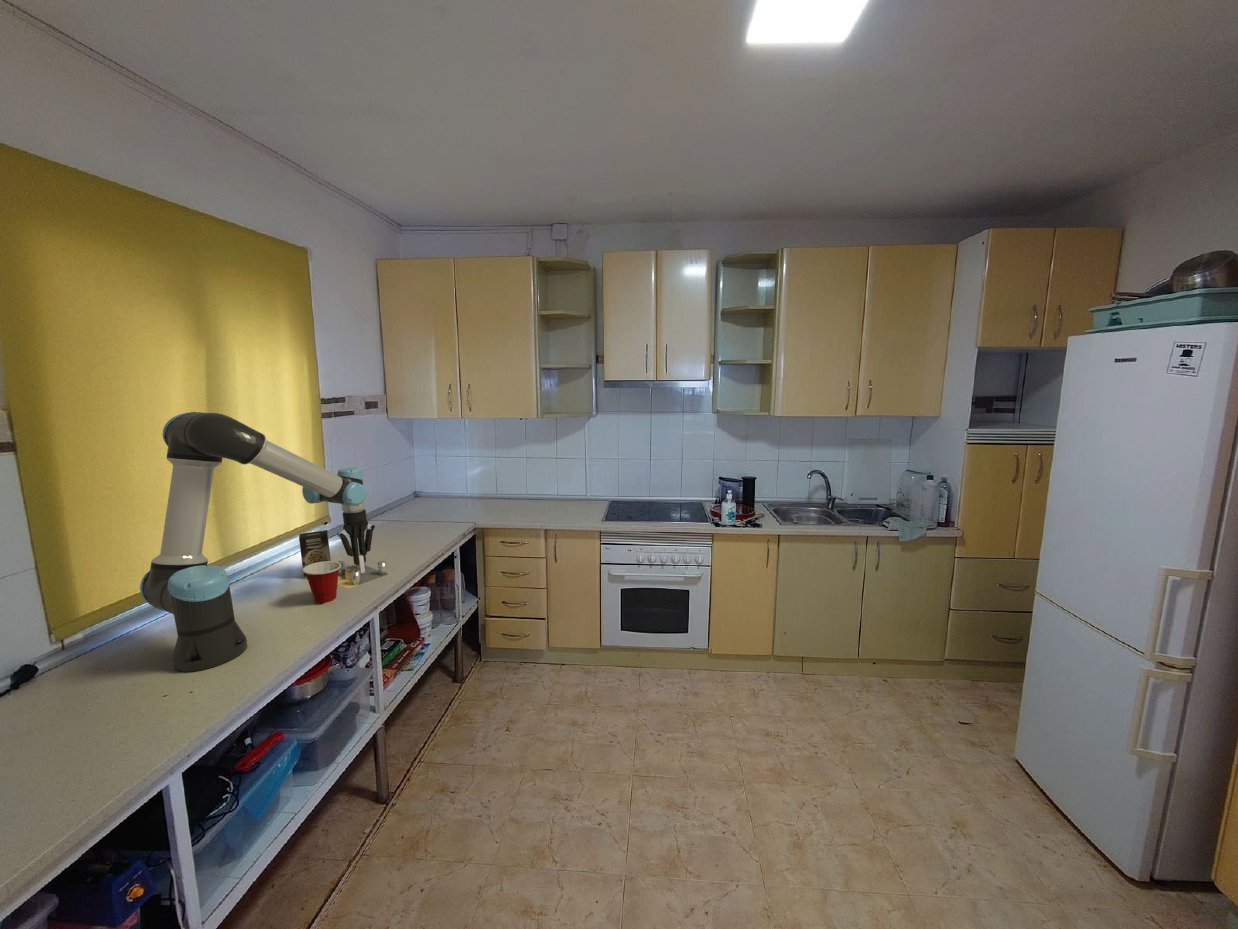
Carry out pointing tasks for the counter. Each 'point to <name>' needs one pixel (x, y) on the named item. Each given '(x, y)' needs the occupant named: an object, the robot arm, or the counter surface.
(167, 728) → the counter surface
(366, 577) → the mat
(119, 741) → the counter surface
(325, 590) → the plastic cup
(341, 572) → the spacer
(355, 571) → the spacer
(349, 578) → the tan faceted flat piece
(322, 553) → the coffee box
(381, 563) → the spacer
